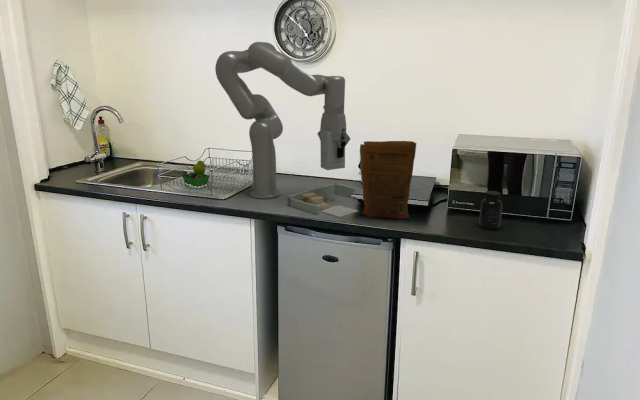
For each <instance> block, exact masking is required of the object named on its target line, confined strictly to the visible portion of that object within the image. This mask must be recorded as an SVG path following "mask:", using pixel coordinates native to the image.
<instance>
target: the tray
mask: <svg viewBox="0 0 640 400" xmlns="http://www.w3.org/2000/svg"><path fill="white" fill-rule="evenodd" d="M361 189H362V188H358V187H354V186H351V185H345V184H342V183H337V182H333V183H330V184H326V185H323V186H319V187H315V188H312V189H308V190H305V191H301V192H297V193H293V194H288V195H287V205H288V207H292V208H294V209H298V210H302V211H305V212H307V213H311V214H314V215H320V214H321V212H320V206H317V205H313V204H310V203H307V202H303V201H300V200H301V194H307V193H315V194H317V195H319V196H321V197H323V198H324V197H327V196H330V195H331V196H332V195H334V194H337V195H341V196H345V197H349V198H352V197H351V195H352V193H353V192H354V190H361Z"/></svg>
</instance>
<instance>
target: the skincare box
mask: <svg viewBox="0 0 640 400" xmlns="http://www.w3.org/2000/svg"><path fill="white" fill-rule="evenodd" d="M319 131H320V130H319ZM342 136H343V135H342ZM343 138H344V137H343ZM319 140H320V141H319V142H320V168H321V169H323V170H326V171H332V170H339V169H340V170H341V169H344V168H346V146H345V147H344V157H342V158H337V148H339V146H338V144H337V141H333V140H332V132H328V131H320V138H319ZM340 142H341V141H340Z"/></svg>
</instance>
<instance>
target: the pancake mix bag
mask: <svg viewBox="0 0 640 400" xmlns="http://www.w3.org/2000/svg"><path fill="white" fill-rule="evenodd" d="M416 149H417V143H416V142H414V141H412V140H386V141H385V140H384V141H375V140H374V141H372V140H371V141H368V140H367V141H365V140H364V141H363V144H362V143H361V144H360V145H359V157H360V158H359V159H360V160H359V161H360V162H359V163H360V165H359V166H360V177H361V179H360V180H361V185H362V186H361V187H362V188H361V189H363V199H364V200H363V204H364V208H363V213H362V214H363V215H364V216H366V217H368V218H378V219H392V220H405V219H408V218H410V216H409V211H408V210H409V209H408V208H409V207H408V203H409V198H410V191H411V190H410V189H411V182H412V177H413V171H414V165H415V163H414V162H415V159H416V151H417V150H416Z"/></svg>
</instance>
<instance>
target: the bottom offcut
mask: <svg viewBox="0 0 640 400" xmlns="http://www.w3.org/2000/svg"><path fill="white" fill-rule="evenodd" d="M300 201H301V200H300ZM317 206H320V211H322V210H325V209H328V207H329V204H328V203H327V202H325V201H323V204H319V205H317Z"/></svg>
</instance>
